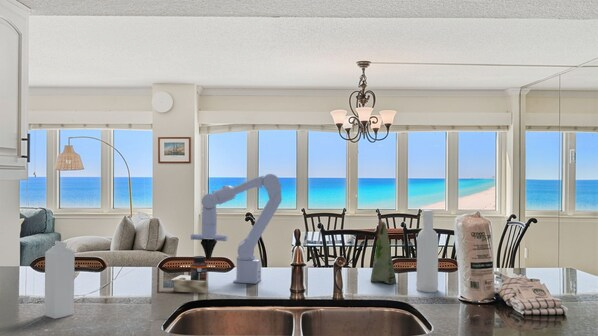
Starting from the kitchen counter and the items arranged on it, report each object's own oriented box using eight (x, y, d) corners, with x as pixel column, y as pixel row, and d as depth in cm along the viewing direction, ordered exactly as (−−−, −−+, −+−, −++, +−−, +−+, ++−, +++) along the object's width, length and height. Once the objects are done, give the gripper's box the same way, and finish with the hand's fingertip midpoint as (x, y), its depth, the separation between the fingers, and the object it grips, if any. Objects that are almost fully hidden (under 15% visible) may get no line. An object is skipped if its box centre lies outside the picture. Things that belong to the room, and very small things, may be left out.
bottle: (439, 289, 197) (440, 210, 197) (435, 293, 190) (437, 211, 190) (418, 286, 200) (419, 209, 200) (414, 291, 193) (415, 210, 193)
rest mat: (201, 277, 211) (201, 276, 211) (192, 281, 203) (192, 280, 203) (180, 275, 213) (180, 275, 213) (171, 280, 204) (171, 279, 204)
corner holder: (209, 290, 189) (210, 279, 189) (205, 293, 185) (205, 281, 185) (179, 288, 191) (179, 277, 191) (173, 291, 187) (173, 280, 187)
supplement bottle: (203, 289, 191) (203, 258, 191) (187, 288, 192) (188, 257, 192) (209, 285, 197) (209, 255, 197) (194, 284, 198) (194, 255, 198)
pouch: (384, 286, 200) (385, 221, 200) (361, 281, 209) (362, 219, 209) (402, 282, 207) (403, 220, 207) (379, 277, 216) (380, 217, 216)
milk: (63, 311, 159) (64, 239, 159) (74, 314, 156) (75, 241, 156) (43, 315, 154) (45, 241, 155) (54, 319, 151) (55, 243, 151)
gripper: (187, 224, 202) (187, 259, 202) (223, 225, 199) (222, 261, 199) (194, 222, 208) (194, 256, 208) (229, 224, 206) (228, 258, 206)
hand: (208, 258), depth 204 cm, fingers closed
